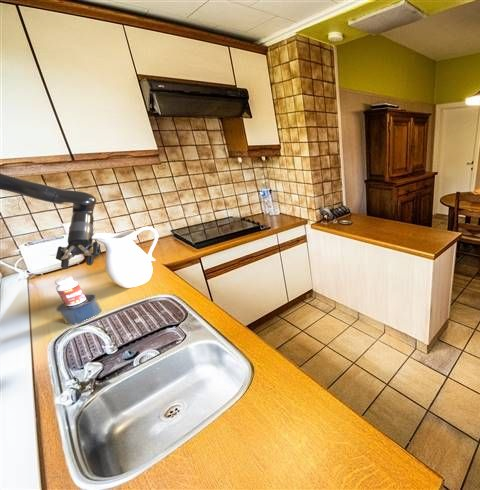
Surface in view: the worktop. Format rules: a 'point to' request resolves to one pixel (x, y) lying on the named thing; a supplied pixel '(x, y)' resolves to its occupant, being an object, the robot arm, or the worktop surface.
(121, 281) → the pitcher
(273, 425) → the worktop surface
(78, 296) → the pill bottle
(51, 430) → the worktop surface
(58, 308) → the crock
